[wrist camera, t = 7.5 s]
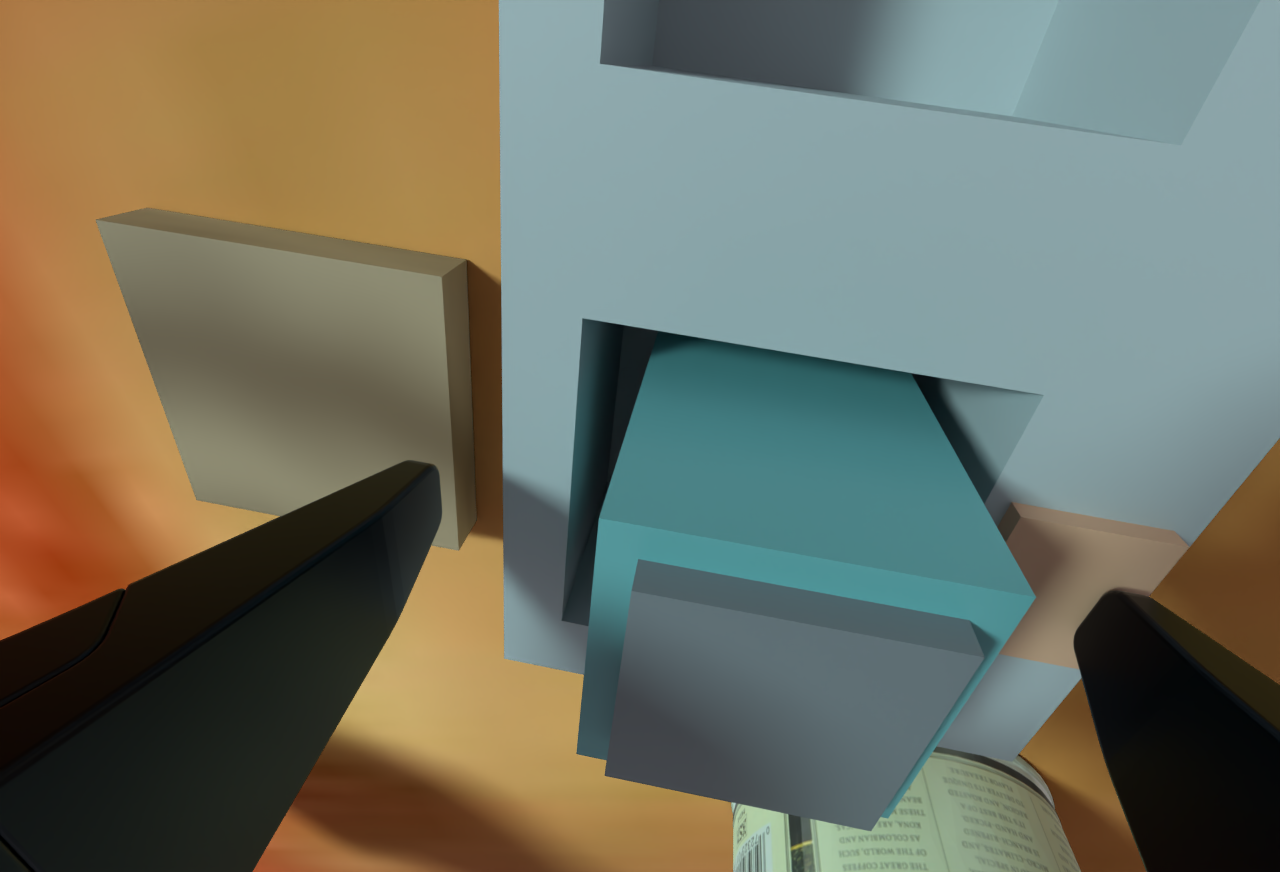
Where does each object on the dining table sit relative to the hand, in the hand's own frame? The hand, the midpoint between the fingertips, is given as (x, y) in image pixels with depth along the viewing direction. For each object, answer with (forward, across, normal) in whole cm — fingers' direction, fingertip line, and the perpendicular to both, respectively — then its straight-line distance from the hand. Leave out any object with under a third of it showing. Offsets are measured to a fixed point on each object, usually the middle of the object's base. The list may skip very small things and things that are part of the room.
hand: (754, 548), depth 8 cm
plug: (+4, 0, 0) cm, 4 cm away
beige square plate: (+5, +10, +2) cm, 11 cm away
